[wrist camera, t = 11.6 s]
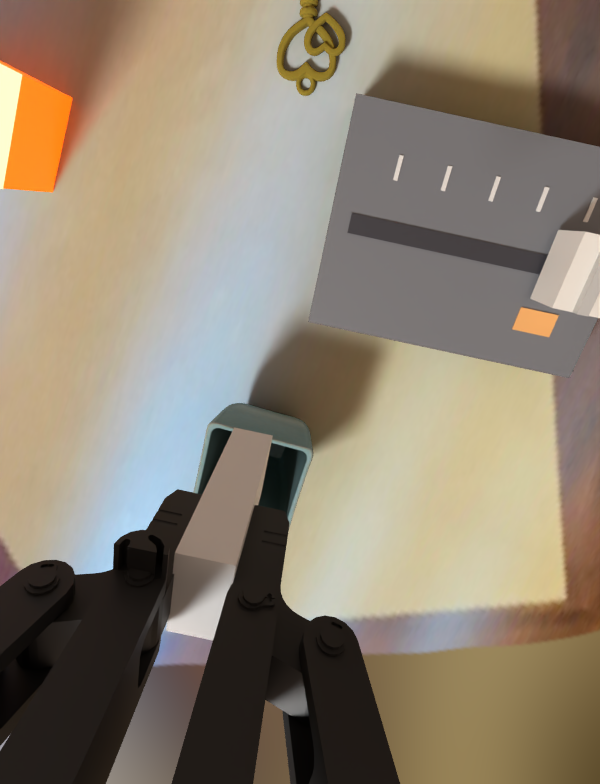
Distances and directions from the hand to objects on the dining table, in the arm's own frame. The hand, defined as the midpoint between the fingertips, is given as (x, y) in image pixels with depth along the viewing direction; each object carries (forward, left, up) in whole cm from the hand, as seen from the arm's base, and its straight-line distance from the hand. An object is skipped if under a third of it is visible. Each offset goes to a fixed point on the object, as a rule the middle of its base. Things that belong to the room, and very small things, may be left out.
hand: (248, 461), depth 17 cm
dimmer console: (-9, +12, -24) cm, 29 cm away
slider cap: (-9, +19, -20) cm, 29 cm away
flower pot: (+12, -1, -25) cm, 27 cm away
